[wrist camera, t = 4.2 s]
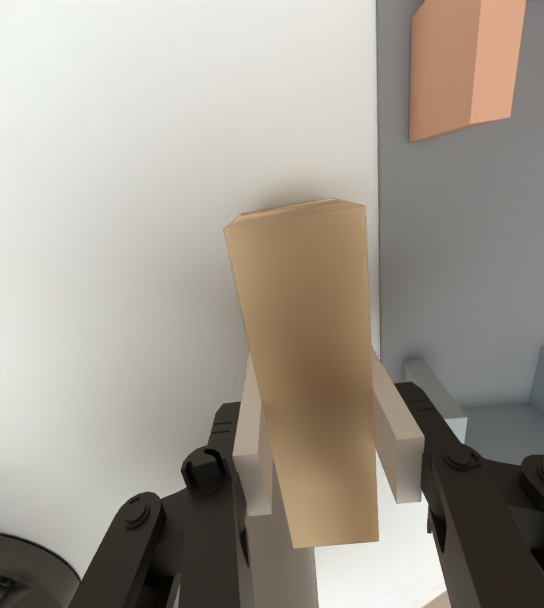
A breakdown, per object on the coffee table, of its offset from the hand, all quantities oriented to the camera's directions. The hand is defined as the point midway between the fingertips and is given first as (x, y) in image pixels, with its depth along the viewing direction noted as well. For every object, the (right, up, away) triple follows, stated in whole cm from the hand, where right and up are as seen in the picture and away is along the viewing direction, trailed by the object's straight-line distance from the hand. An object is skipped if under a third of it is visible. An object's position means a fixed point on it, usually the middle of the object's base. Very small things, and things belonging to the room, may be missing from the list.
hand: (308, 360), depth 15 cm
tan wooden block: (0, 0, +1) cm, 1 cm away
